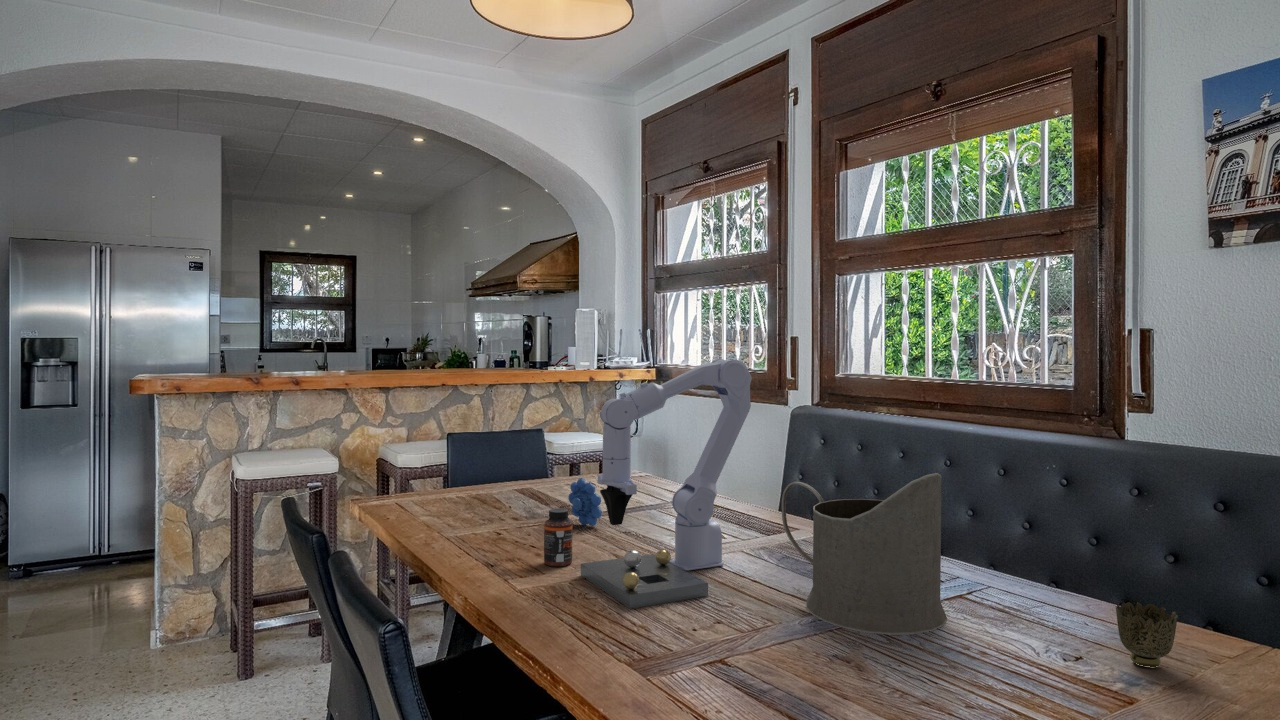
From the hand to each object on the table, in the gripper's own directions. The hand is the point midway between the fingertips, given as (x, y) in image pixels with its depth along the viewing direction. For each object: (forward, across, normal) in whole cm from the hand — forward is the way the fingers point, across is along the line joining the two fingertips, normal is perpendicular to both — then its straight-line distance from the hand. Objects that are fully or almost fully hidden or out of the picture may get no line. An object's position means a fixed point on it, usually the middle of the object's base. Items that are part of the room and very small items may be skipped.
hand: (616, 524), depth 156 cm
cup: (+9, +76, +48) cm, 91 cm away
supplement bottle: (+10, -10, -9) cm, 16 cm away
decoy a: (+5, +8, +6) cm, 12 cm away
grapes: (+10, -40, +9) cm, 42 cm away
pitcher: (+10, +38, +29) cm, 48 cm away
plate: (+9, +12, 0) cm, 15 cm away
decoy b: (+6, +20, -6) cm, 21 cm away
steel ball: (+5, +8, 0) cm, 9 cm away
